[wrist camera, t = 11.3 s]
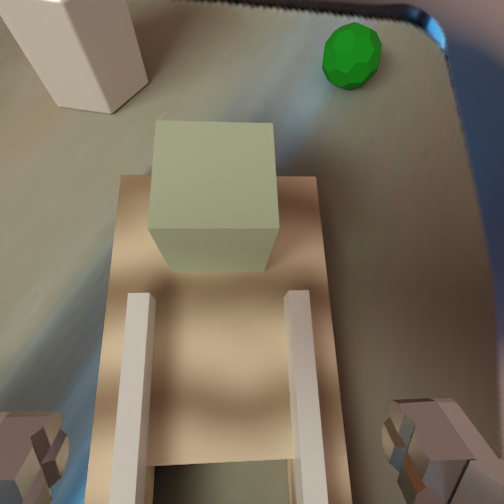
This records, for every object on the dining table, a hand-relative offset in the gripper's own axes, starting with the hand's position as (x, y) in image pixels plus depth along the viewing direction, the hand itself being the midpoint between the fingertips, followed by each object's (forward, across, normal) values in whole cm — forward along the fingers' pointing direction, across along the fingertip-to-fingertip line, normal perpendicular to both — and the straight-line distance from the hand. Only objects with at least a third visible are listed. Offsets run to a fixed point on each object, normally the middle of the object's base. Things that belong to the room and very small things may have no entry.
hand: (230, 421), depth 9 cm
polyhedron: (+29, -11, -9) cm, 32 cm away
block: (+16, +1, +1) cm, 16 cm away
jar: (+29, +12, -8) cm, 32 cm away
